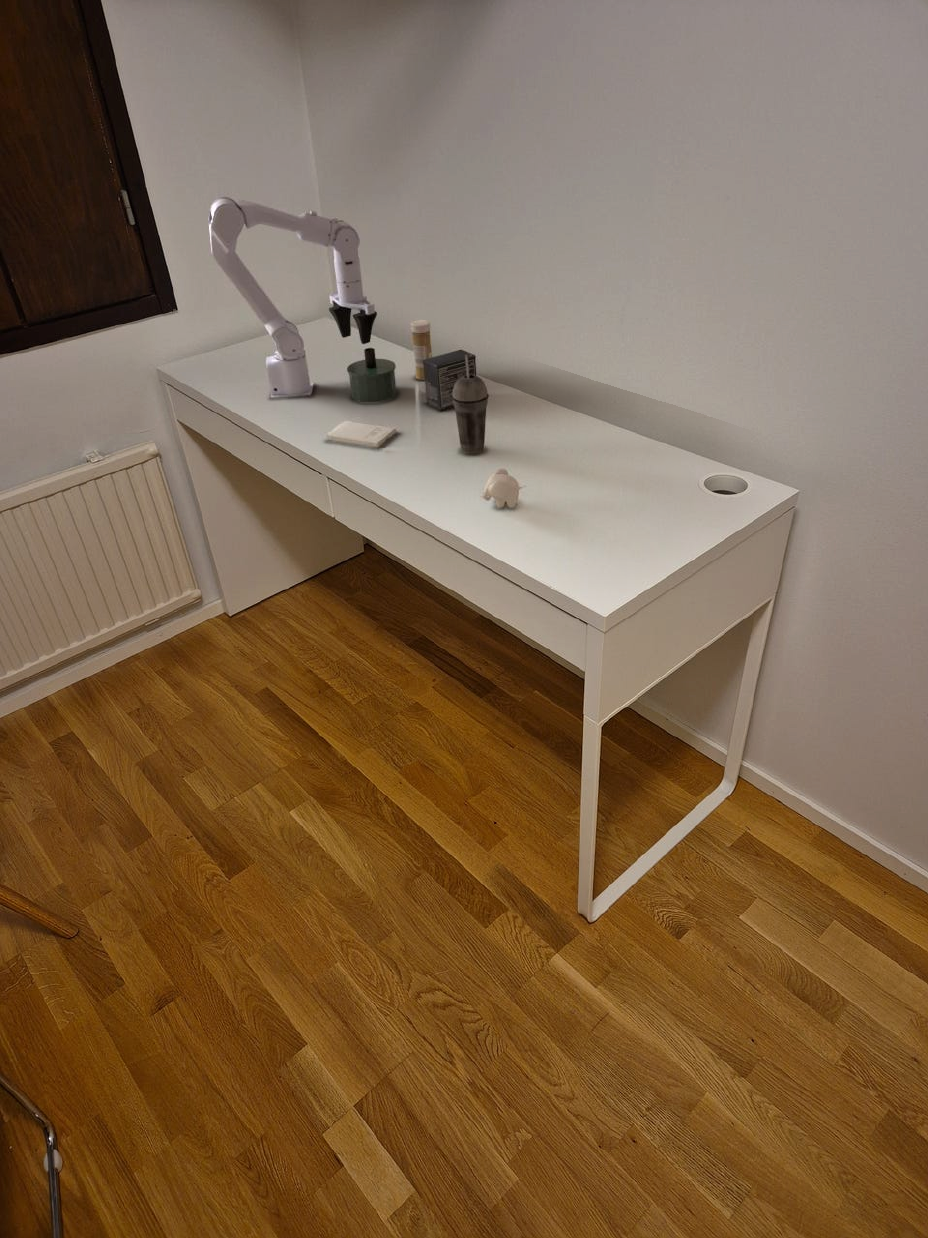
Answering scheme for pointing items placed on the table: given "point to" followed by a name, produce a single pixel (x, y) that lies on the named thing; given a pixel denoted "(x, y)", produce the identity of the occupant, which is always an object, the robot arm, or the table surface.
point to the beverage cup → (470, 411)
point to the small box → (445, 377)
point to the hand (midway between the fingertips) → (356, 339)
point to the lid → (371, 366)
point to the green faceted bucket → (373, 387)
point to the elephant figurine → (502, 489)
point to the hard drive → (360, 434)
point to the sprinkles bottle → (421, 345)
